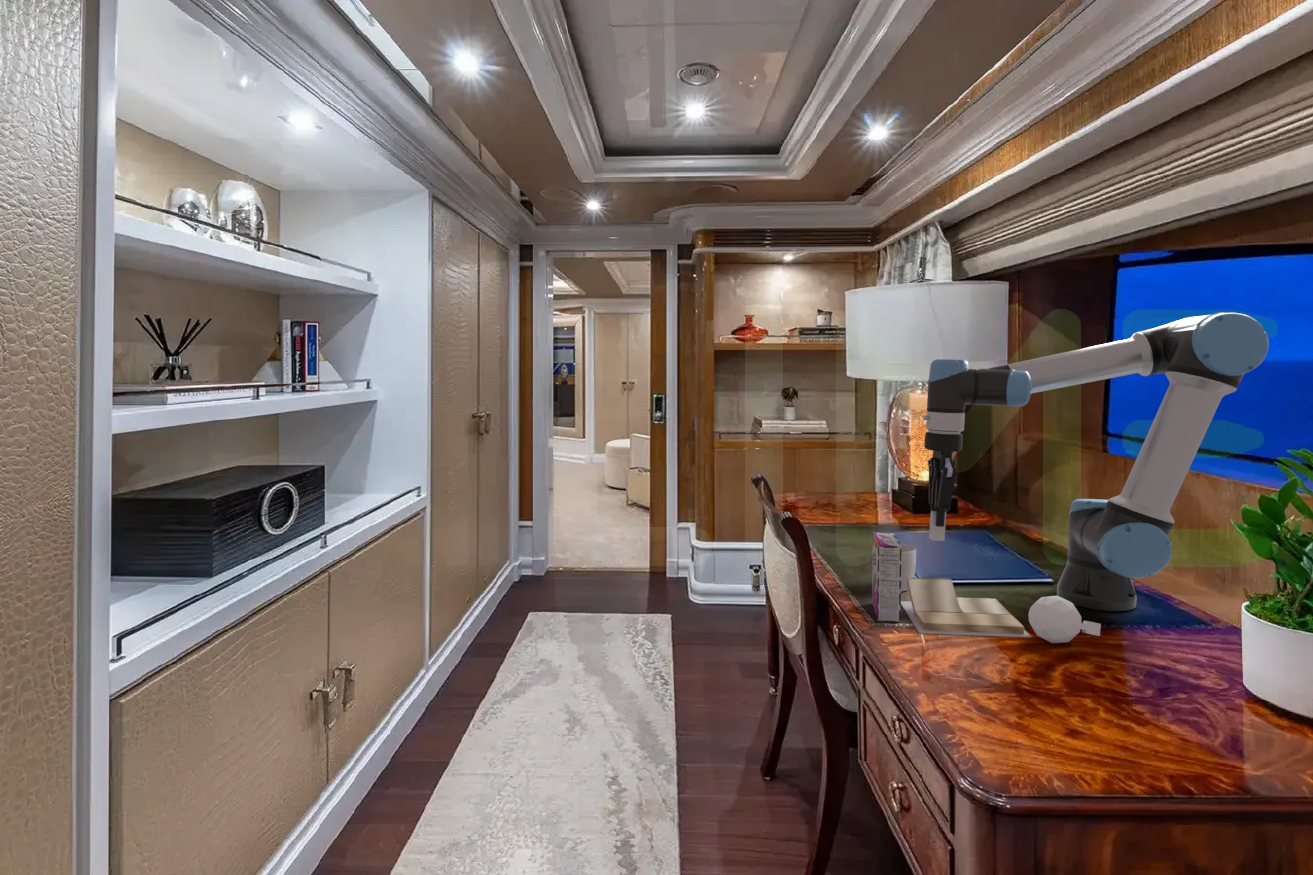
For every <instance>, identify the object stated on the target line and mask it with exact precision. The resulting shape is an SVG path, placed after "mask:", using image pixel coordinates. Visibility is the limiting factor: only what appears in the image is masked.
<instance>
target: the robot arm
mask: <svg viewBox="0 0 1313 875" xmlns="http://www.w3.org/2000/svg"><path fill="white" fill-rule="evenodd" d="M1268 351H1269V337H1268V333H1267V332H1266V331H1265V329H1264V327H1263V326H1262V324H1261V323H1260V322H1259V321H1258V320H1256V318H1253V317H1251V316H1249V315H1247V314H1243V313H1237V312H1225V311H1224V312H1223V311H1222V312H1215V313H1212V314H1206V315H1198V316H1197V315H1196V316H1189V317H1184V318H1182V319H1179V320H1175V321H1171V322H1169V323H1167V324H1163V325H1159V326H1157V327H1154V328H1150V329H1146V330H1141V331H1137V332H1134V333H1133V334H1132V336H1131V337H1130V338H1127V339H1123V340H1116V341H1112V342H1108V343H1107V342H1106V343H1103V344H1097V345H1093V346H1088V347H1084V348H1083V347H1082V348H1080V349H1075V350H1069V351H1064V352H1060V353H1055V354H1050V355H1047V356H1046V355H1045V356H1041V357H1036V358H1031V359H1027V360H1021V361H1017V362H1012V363H1008V364H1004V365H1003V364H1002V365H999V366H994V367H988V368H979V369H976V368H970V366H969V361H968V360H966V359H944V358H943V359H939V358H938V359H934V360H932V362H931V363H930V366H929V373H928V375H929V376H928V379H927V382H928V383H927V402H926V415H923V420H924V421H925V429H926V430H927V431H926V432H925V433H924V447H923V448H924V449H926V450H928V451H931V452H932V455H931V456H932V457H930V458H929V459H928V460H927V465H928V499H927V500H928V501H927V502H928V504H930V505H929V507H930V518H929V519H930V520H929V536H928V539H929V540H930V541H934V542H936V541H937V542H938V541H939V542H940V541H941V542H945V538H946V537H945V536H946V523H947V512H948V511H949V512H950V511H951V505H952V499H953V492H954V491H953V490H954V485H955V484H954V483H955V479H956V476H957V475H956V474H957V472H958V471H957V468H956V467H955V460H954V459H953V453H954V452H956V453H957V452H961V451H962V450H963V441H964V435H963V434H962V433H961V432H964V431H965V419H966V417H965V416H966V405H967V406H968V405H969V406H992V407H993V406H994V407H995V406H996V407H1008V408H1011V407H1024V406H1026V405H1027V404H1028V403H1029V401H1030V398H1031V395H1032V394H1036V393H1040V392H1046V391H1051V390H1057V389H1061V388H1068V387H1072V386H1076V385H1082V384H1086V383H1087V384H1088V383H1092V382H1097V381H1103V380H1109V379H1113V378H1118V377H1119V378H1120V377H1124V376H1129V375H1133V374H1139V375H1140V376H1141V377H1142V376H1143V377H1147V376H1152V375H1160V374H1161V375H1162V374H1164V375H1165V376H1166V378H1167V380H1168V381H1169V386H1168V388H1167V389H1166V392H1165V394H1164V397H1163V399H1162V401H1161V403H1160V405H1159V407H1158V410H1157V412H1156V415H1155V417H1154V419H1153V421H1152V423H1151V426H1150V428H1149V430H1148V433H1147V435H1146V437H1145V440H1144V441H1143V443H1142V446H1141V448H1140V450H1139V453H1138V454H1137V457H1136V459H1135V462H1134V464H1133V466H1132V467H1131V470H1130V473H1129V475H1128V477H1127V479H1126V481H1125V484H1124V487H1123V489H1122V490H1121V492H1120V493H1119V495H1116V496H1113V497H1111V498H1108V499H1100V498H1099V499H1096V498H1076V499H1073V501H1072V502H1071V504H1070V508H1069V509H1070V510H1069V511H1068V516H1069V518H1068V519H1069V523H1068V524H1069V525H1068V540H1067V541H1068V543H1067V546H1068V547H1067V561H1066V565H1065V567H1064V569H1063V572H1062V573H1061V576H1060V578H1059V580H1058V583H1057V584H1056V585H1057V586H1056V596H1059V597H1061V598H1063V599H1065V600H1068V601H1070V602H1072V603H1073V604H1074V606H1079V607H1082V608H1087V609H1092V610H1098V611H1106V612H1126V611H1132V610H1133V609H1135V608H1137V599H1138V598H1137V593H1136V590H1135V587H1134V584H1133V580H1132V579H1143V578H1144V579H1145V578H1147V577H1148V578H1149V577H1150V576H1154V575H1156V574H1159V572H1161V571H1162V570H1163V569H1164V568H1166V566H1167V565H1168V564H1169V562H1170V561H1171V559H1172V555H1173V545H1172V542H1171V539H1170V537H1169V536H1170V534H1171V532H1172V529H1173V527H1174V524H1175V519H1174V518H1173V516H1172V514H1171V509H1172V506H1173V504H1174V502H1175V500H1176V498H1177V495H1178V494H1179V491H1180V489H1181V488H1182V485H1183V483H1184V481H1185V478H1186V476H1187V474H1188V473H1189V470H1190V468H1191V466H1192V463H1193V462H1194V459H1195V457H1196V454H1197V452H1198V450H1199V448H1200V446H1201V444H1202V442H1203V440H1204V438H1205V435H1206V433H1207V430H1208V429H1209V427H1210V424H1211V422H1212V420H1213V419H1214V416H1215V414H1216V411H1217V409H1218V407H1219V405H1220V403H1221V401H1222V399H1223V398H1224V397H1225V396H1227V395H1229V394H1232V393H1235V392H1236V391H1237V390H1238V388H1239V386H1240V383H1241V381H1242V379H1243V377H1244V375H1245V374H1247V373H1250V372H1252V371H1254V369H1256V368H1258V367H1259V366H1260V365H1261V364H1262V363H1263V361H1265V359H1266V356H1267V354H1268Z"/></svg>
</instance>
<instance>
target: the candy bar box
mask: <svg viewBox="0 0 1313 875" xmlns="http://www.w3.org/2000/svg"><path fill="white" fill-rule="evenodd" d="M901 550H902V547H901V545H900V542H899V540H898V536H897V535H896V534H895V533H893V532H890V533H889V532H887V533H886V532H873V533H872V558H871V559H872V562H871V563H872V564H871V565H872V570H871V571H872V572H871V573H872V574H871V575H872V580H871V581H872V583H871V584H872V585H871V586H872V587H871V588H872V589H871V593H872V594H871V604H872V606H873V610H874V613H875V616H876V619H877V621H878V622H887V623H888V622H889V623H900V622H901V611H902V610H901V608H902V606H901V601H902V592H901Z"/></svg>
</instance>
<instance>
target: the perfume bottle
mask: <svg viewBox="0 0 1313 875" xmlns="http://www.w3.org/2000/svg"><path fill="white" fill-rule="evenodd" d="M1028 622H1029V624H1030V626H1031V628H1032V629H1033V631H1034V633H1035V635H1036V636H1037V637H1039V638H1040V639H1041V638H1042V639H1043V640H1045V641H1047V642H1049V643H1051V644H1060V643H1069V642H1071V640H1073V638H1075V637H1076V636H1077V635H1078V634H1080V633H1083V634H1088V635H1093V636H1098V637H1100V636H1101V628H1102V627H1101V626H1102V624H1101V623H1098V622H1094V621H1089V620H1083V621H1082V616H1081V614H1080V612H1079V611H1078V609H1077V608H1076V605H1074V604H1073V603H1072V602H1070V601H1068V600H1065V599H1063V598H1061V597H1059V596H1057V595H1049V596H1042V597H1040V598H1038V600H1036V601H1035V602H1034V603H1033V604H1032V605H1031V606H1030V608H1029V611H1028ZM1081 630H1082V631H1081Z"/></svg>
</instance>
